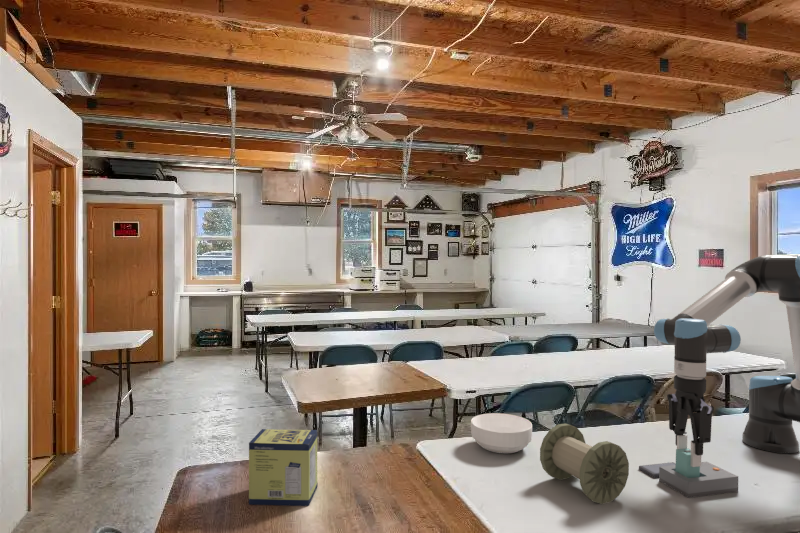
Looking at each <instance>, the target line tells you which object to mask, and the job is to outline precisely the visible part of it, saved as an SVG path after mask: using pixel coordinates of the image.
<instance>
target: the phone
mask: <svg viewBox="0 0 800 533" xmlns="http://www.w3.org/2000/svg"><path fill="white" fill-rule="evenodd" d="M670 465H676V462H664V463H662V462H661V463H654V464H643V465H639V466H638V470H640V471H641V472H643V473H644V474H647V475H649V476H650V477H652V478H653V479H657V478H659V467H661V466H670Z"/></svg>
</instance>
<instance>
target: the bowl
mask: <svg viewBox="0 0 800 533" xmlns="http://www.w3.org/2000/svg"><path fill="white" fill-rule="evenodd" d="M470 432H471V433H470V434H471V437H472V438H473V439H474V441H475V442H476V443H477V444H478V445H479V446H480V447H481V448H483V449H484V450H486V451H489V452H493V453H497V454H513V453H517V452H520V451H521V450H523V449H525V448H526V447H527V446H528V445H529V444H530V443H531V442H532V438H533V424H532V422H531V421H530V420H529V419H527V418H525V417H522V416H519V415H515V414H508V413H499V412H497V413H496V412H494V413H493V412H492V413H491V412H490V413H483V414H478V415H475V416H473V417H472V418H471V420H470Z"/></svg>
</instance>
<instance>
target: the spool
mask: <svg viewBox="0 0 800 533" xmlns="http://www.w3.org/2000/svg"><path fill="white" fill-rule="evenodd" d="M539 462H540V464H541V466H542V469H543V470H544V471H545V473H547V475H549V476H550V477H551V478H554V479H557V480H559V481H560V480H561V481H562V480H565V479H569V478H572V477H574V478H576V479H578V480H579V484H580V487H581V490H582V493H583V494H584V495H585V496H586V497H587V499H588V500H590V501H592V502H595V503H597V504H601V505H604V504H608V503H611V502H613V501H615V500H616V499H617V498H618V497H619V496H620V495H621V493H622V491H623V490H624V489H625V487H626V485H627V481H628V478H629V469H630V468H629V466H630V463H629V459H628V456H627V453H626V451H625V450H623V448H622V447H621V446H620V445H618V444H615V443H613V442H610V441H608V440H606V441H599V442H597V443H596V444H594V445H593V446H592V445H590V444H587V443H586V440H585V437H584V434H583V432H581V431H580V430H579V428H578V427H576V426H574V425H571V424H568V423H559V424H556V425H555V426H554V427H552V428H550V429H549V430H548V432H546V434H545V436H544V437H543V438H542V443H541V445H540V448H539Z"/></svg>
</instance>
